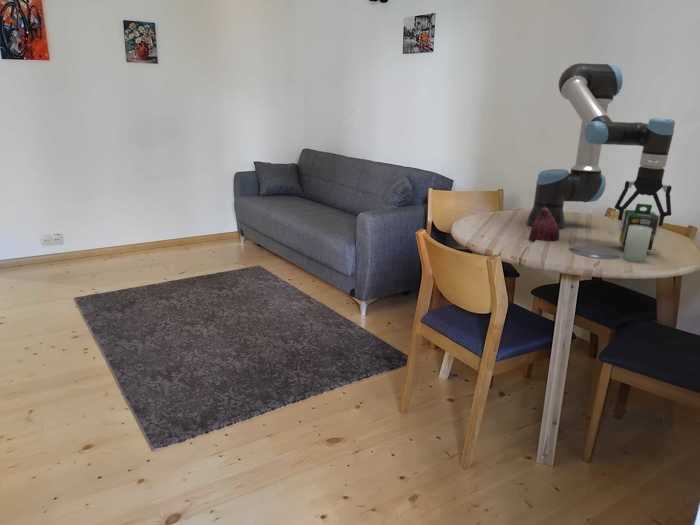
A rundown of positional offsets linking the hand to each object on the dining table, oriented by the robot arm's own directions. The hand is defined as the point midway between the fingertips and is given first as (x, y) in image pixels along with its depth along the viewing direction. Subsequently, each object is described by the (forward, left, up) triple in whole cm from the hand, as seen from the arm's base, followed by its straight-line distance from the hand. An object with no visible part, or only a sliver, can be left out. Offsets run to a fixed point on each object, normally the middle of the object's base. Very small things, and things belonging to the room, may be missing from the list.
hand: (637, 232), depth 178 cm
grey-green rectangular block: (0, -12, -8) cm, 15 cm away
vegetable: (-30, 0, -8) cm, 31 cm away
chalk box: (0, 0, -5) cm, 5 cm away
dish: (-12, -11, -8) cm, 18 cm away
